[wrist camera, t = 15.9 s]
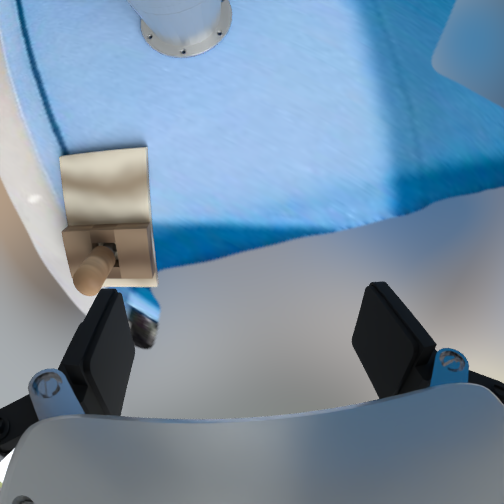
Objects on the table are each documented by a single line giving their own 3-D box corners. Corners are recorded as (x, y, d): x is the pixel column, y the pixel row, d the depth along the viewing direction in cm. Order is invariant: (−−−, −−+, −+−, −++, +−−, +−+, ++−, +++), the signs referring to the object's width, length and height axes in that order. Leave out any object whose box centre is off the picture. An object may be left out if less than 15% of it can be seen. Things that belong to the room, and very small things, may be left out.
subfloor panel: (62, 155, 38) (51, 159, 35) (147, 146, 39) (141, 149, 36) (83, 282, 47) (76, 294, 44) (158, 283, 49) (154, 295, 46)
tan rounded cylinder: (96, 236, 43) (69, 268, 33) (119, 235, 43) (96, 268, 34) (100, 259, 45) (77, 295, 35) (123, 259, 45) (103, 296, 36)
